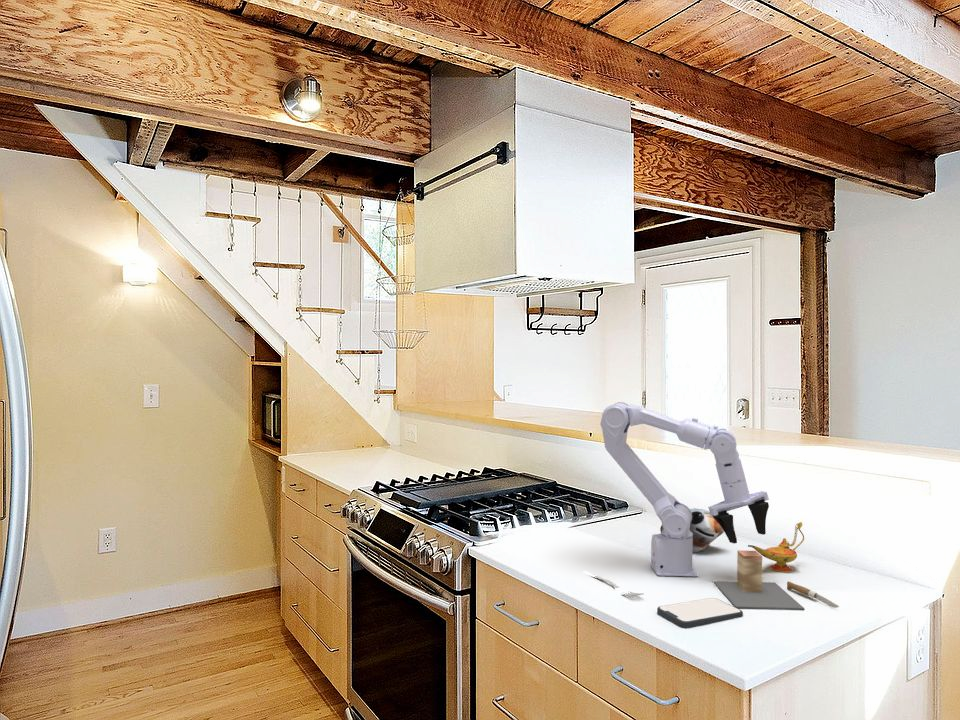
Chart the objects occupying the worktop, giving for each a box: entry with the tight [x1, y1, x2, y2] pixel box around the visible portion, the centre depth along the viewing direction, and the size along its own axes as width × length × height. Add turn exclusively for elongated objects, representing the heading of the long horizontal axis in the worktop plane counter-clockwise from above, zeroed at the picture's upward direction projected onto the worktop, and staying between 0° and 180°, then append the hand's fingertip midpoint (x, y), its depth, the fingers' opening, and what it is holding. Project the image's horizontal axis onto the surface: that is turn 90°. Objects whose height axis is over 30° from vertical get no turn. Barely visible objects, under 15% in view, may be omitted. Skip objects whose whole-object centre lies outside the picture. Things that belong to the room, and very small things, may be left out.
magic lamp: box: [747, 521, 805, 573], centre depth 164 cm, size 7×18×11 cm, turn 112°
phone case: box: [656, 597, 744, 629], centre depth 136 cm, size 9×2×16 cm
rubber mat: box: [712, 580, 805, 611], centre depth 146 cm, size 14×15×1 cm
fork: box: [595, 575, 645, 597], centre depth 154 cm, size 3×24×2 cm, turn 26°
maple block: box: [736, 550, 763, 592], centre depth 149 cm, size 4×4×8 cm
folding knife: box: [786, 580, 840, 609], centre depth 145 cm, size 14×2×2 cm, turn 22°
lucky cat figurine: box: [659, 508, 725, 554], centre depth 180 cm, size 15×12×14 cm
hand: (747, 538), depth 156 cm, fingers open, 7 cm apart
